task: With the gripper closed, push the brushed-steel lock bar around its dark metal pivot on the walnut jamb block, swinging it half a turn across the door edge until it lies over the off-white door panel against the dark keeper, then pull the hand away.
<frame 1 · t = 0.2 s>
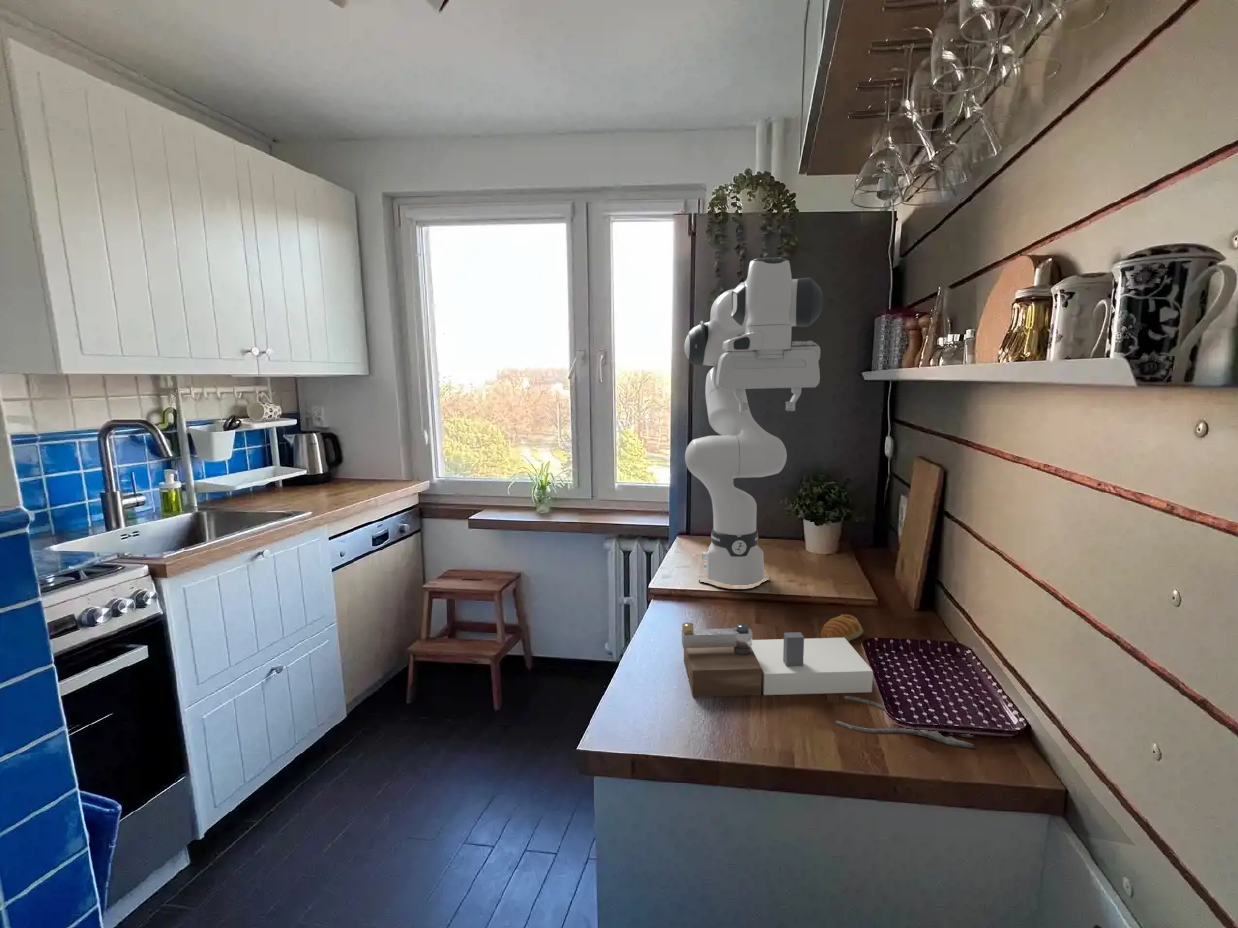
hand: (766, 411, 122), 48 cm above the worktop, tool pointing down, fingers open, 8 cm apart
pastry: (841, 636, 129), on the worktop
lock bar: (717, 634, 111), point 9 cm above the worktop, hinge at 0.0°
door panel: (806, 674, 113), on the worktop
pliers: (900, 723, 98), on the worktop
jamb block: (720, 676, 113), on the worktop
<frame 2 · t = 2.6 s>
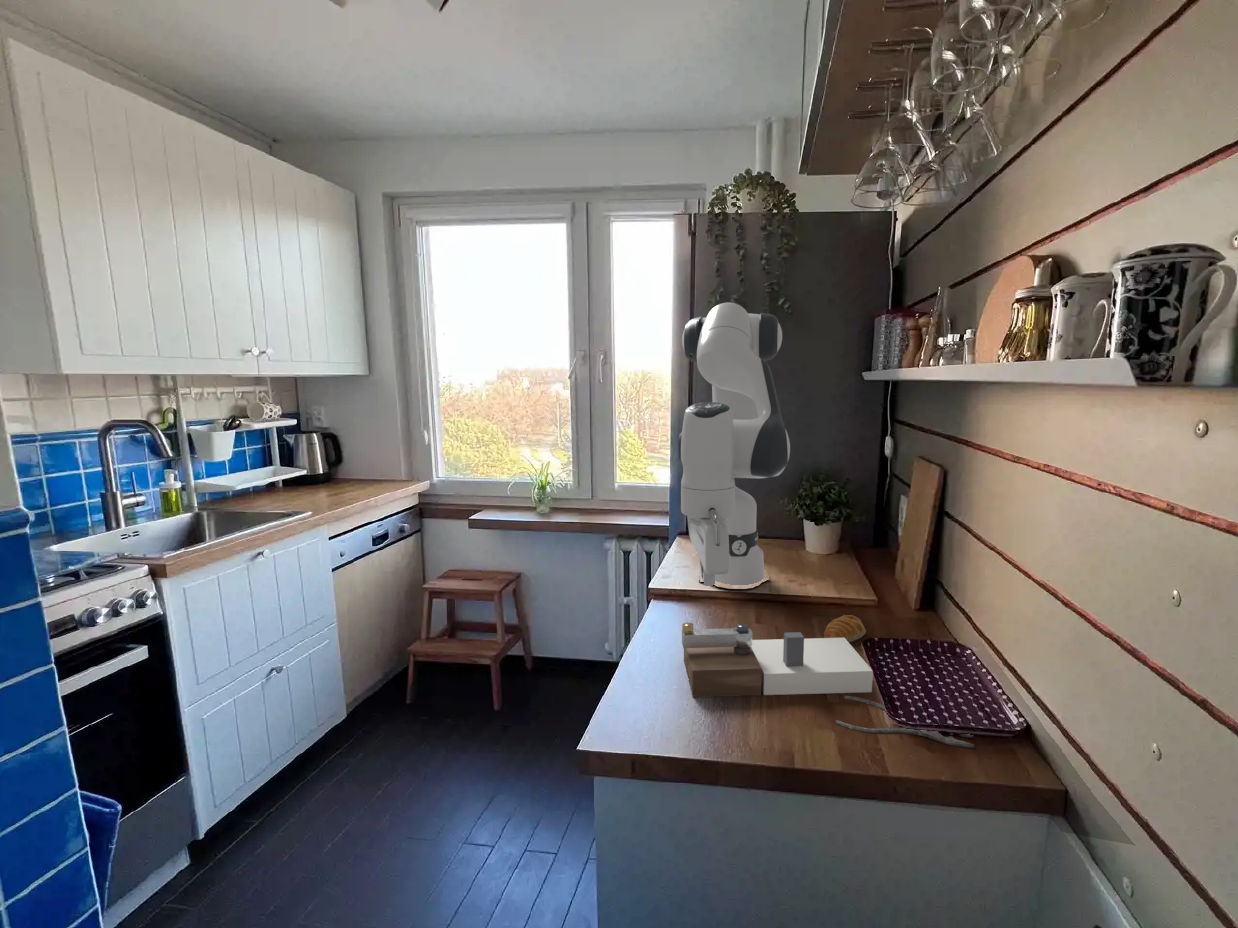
hand: (707, 581, 103), 21 cm above the worktop, tool pointing down, fingers closed
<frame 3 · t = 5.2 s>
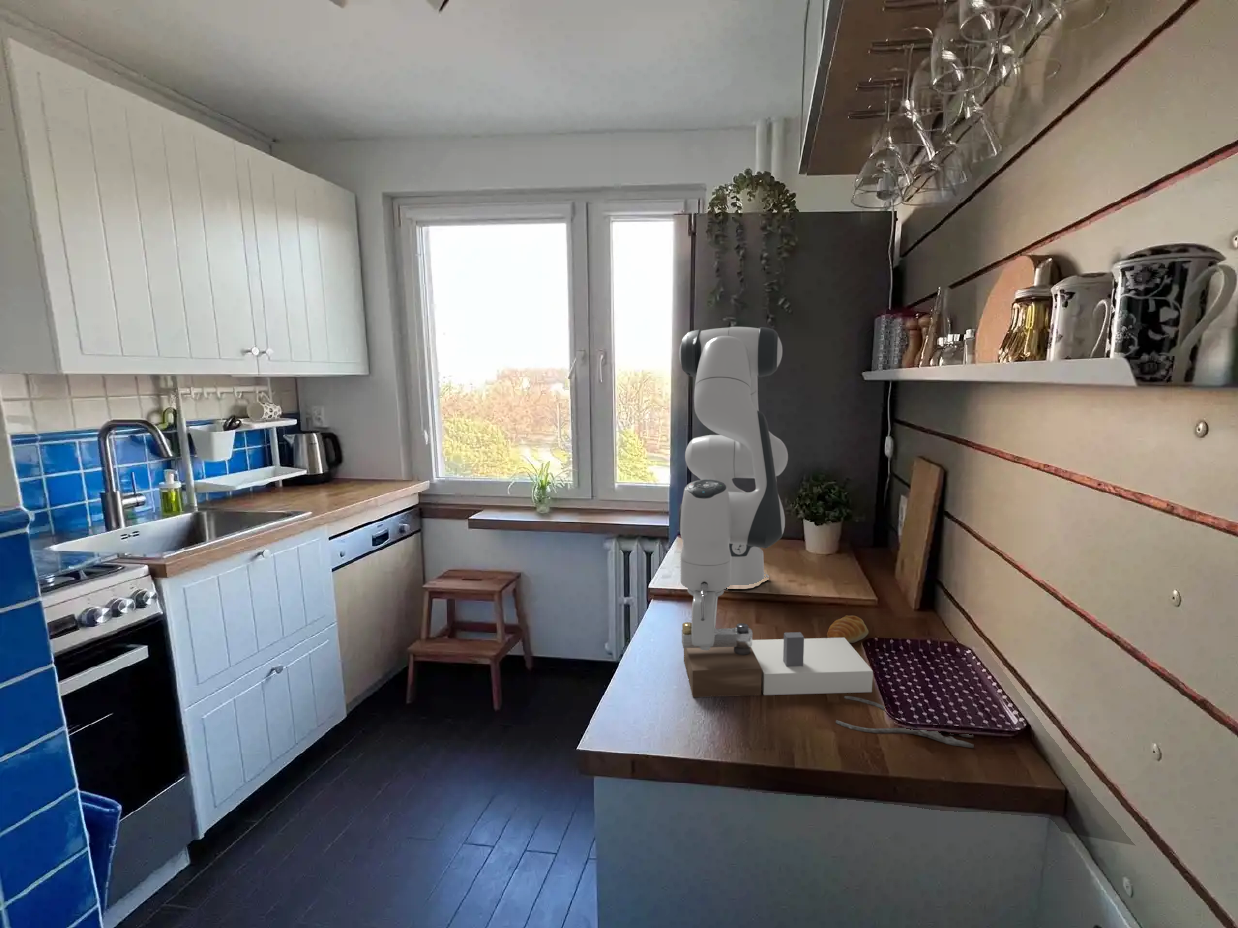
hand: (705, 646, 109), 7 cm above the worktop, tool pointing down, fingers closed
lock bar: (717, 634, 111), point 9 cm above the worktop, hinge at 0.3°, touching gripper
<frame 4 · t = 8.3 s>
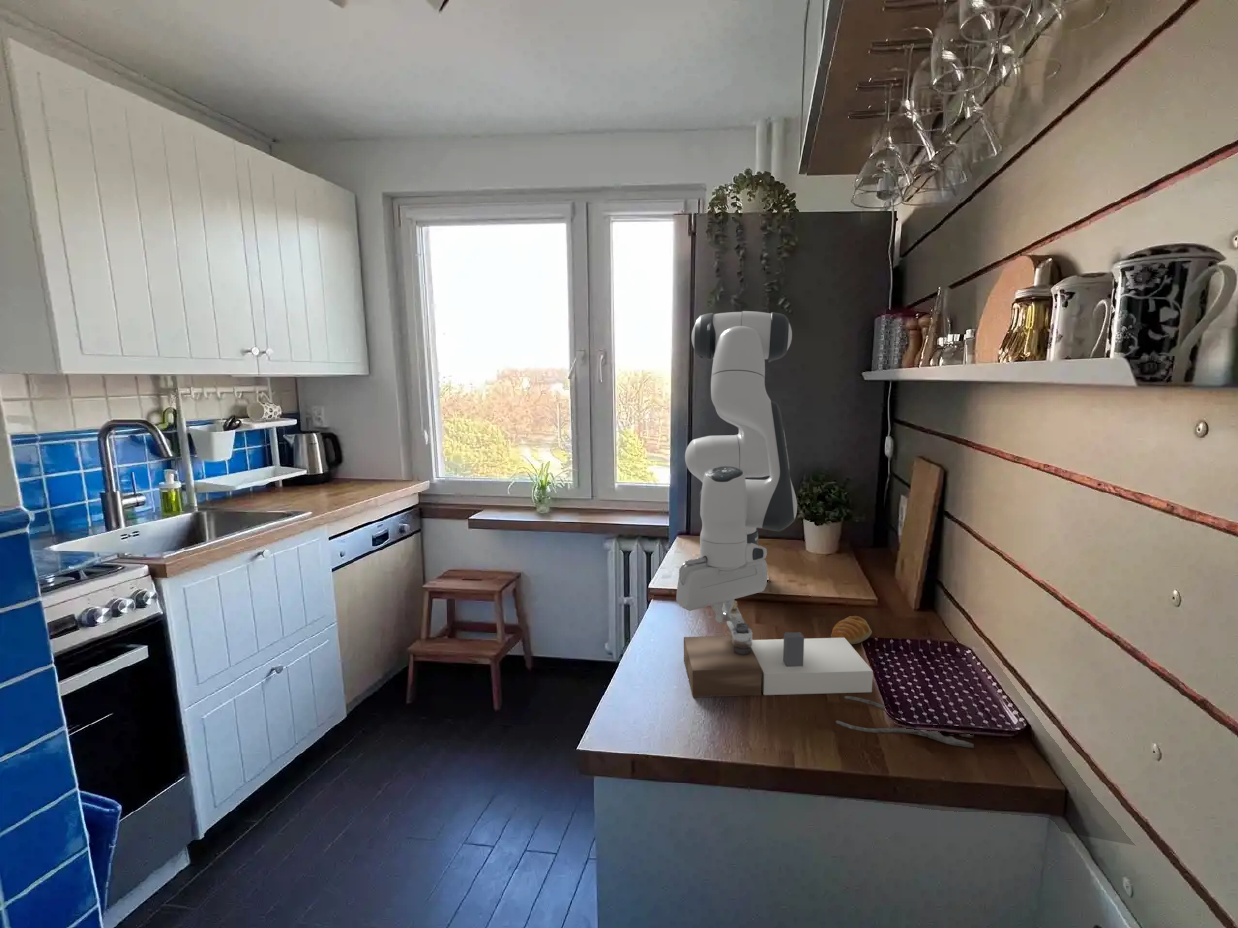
hand: (722, 621, 118), 8 cm above the worktop, tool pointing down, fingers closed
lock bar: (737, 622, 116), point 9 cm above the worktop, hinge at 90.6°, touching gripper
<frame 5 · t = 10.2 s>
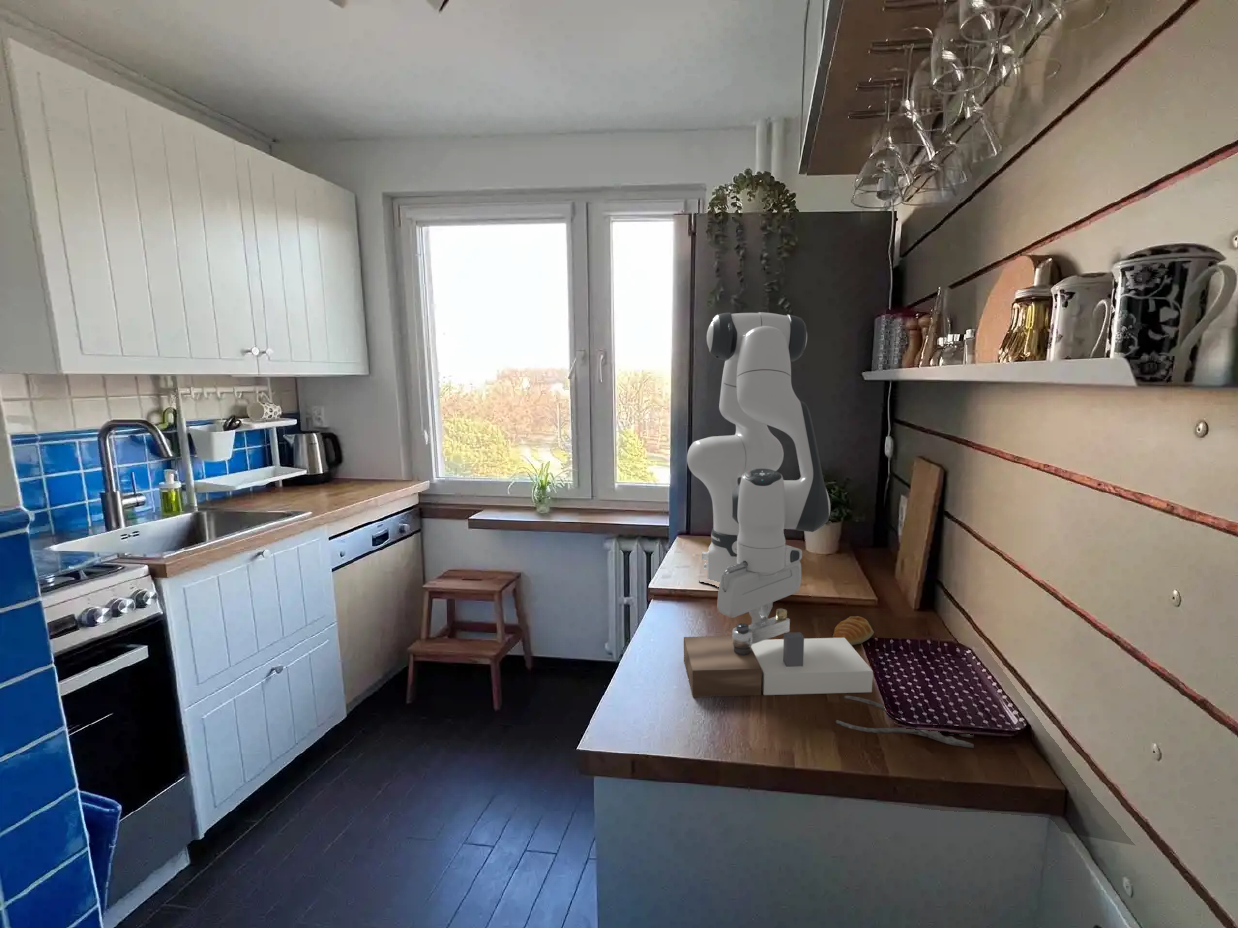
hand: (759, 625, 116), 8 cm above the worktop, tool pointing down, fingers closed, pressing on lock bar
lock bar: (760, 627, 114), point 9 cm above the worktop, hinge at 149.3°, touching gripper
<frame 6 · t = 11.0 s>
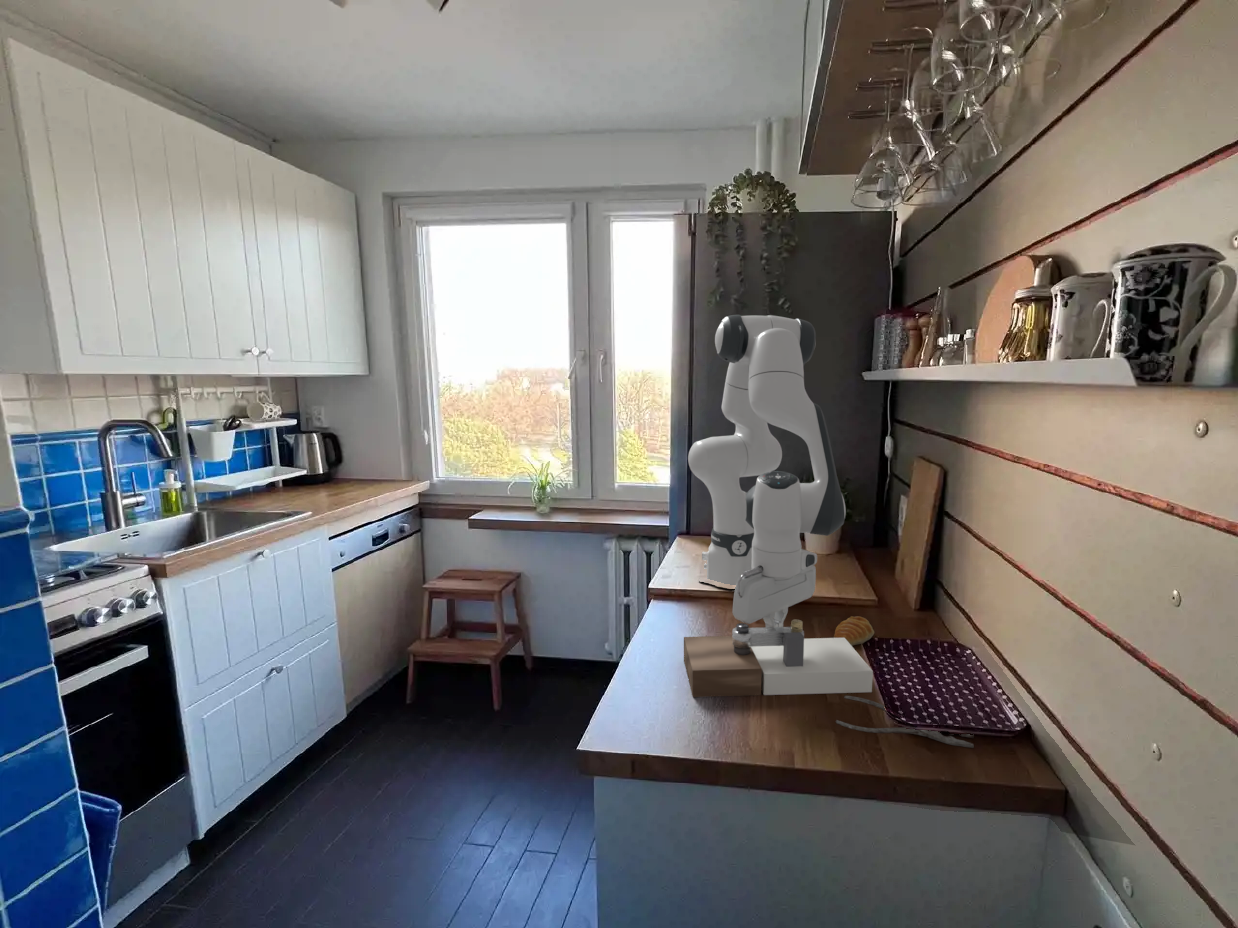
hand: (774, 630, 114), 7 cm above the worktop, tool pointing down, fingers closed
lock bar: (767, 632, 111), point 8 cm above the worktop, hinge at 179.8°, touching gripper
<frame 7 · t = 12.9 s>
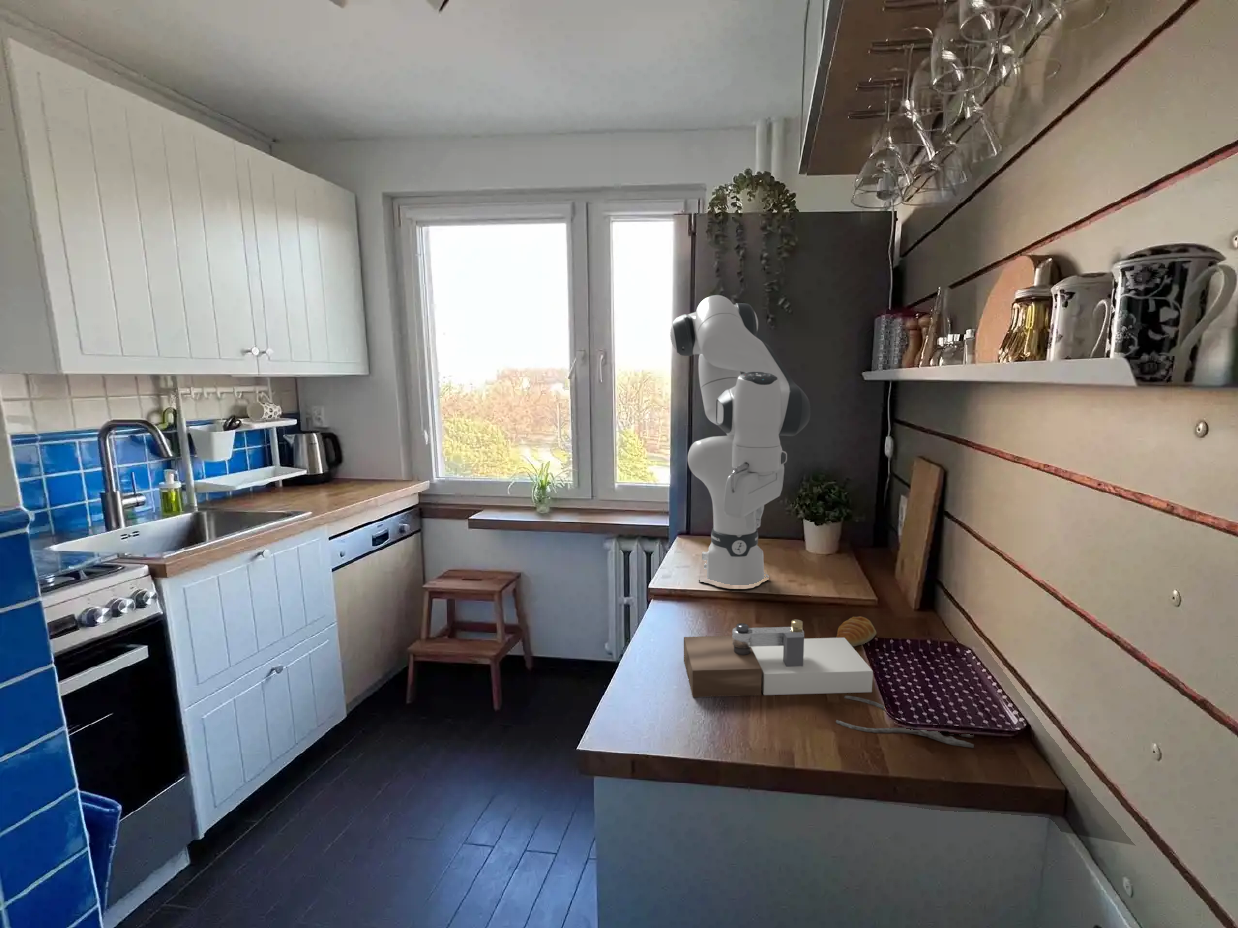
hand: (753, 528, 118), 26 cm above the worktop, tool pointing down, fingers closed
lock bar: (767, 632, 111), point 9 cm above the worktop, hinge at 180.1°
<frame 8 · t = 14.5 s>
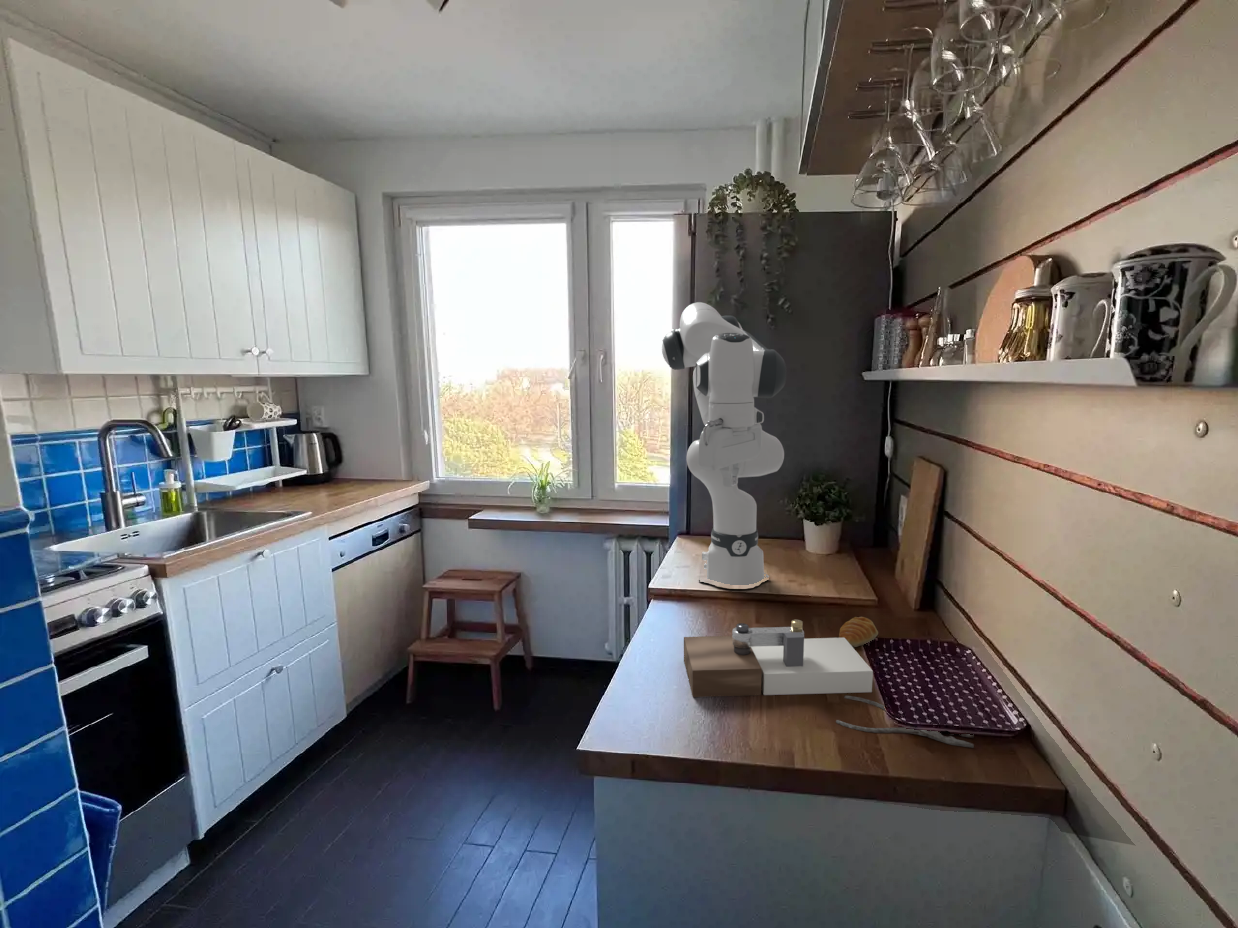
hand: (730, 485, 122), 33 cm above the worktop, tool pointing down, fingers closed
at the end: lock bar at +180° (first picture: +0°) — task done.
